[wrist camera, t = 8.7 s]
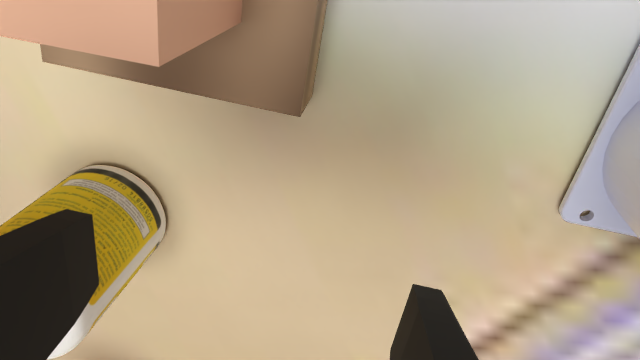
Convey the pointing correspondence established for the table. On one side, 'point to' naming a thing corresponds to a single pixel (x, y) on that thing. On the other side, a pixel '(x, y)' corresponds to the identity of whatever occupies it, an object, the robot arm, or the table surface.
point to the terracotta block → (120, 25)
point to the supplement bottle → (103, 232)
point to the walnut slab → (234, 59)
